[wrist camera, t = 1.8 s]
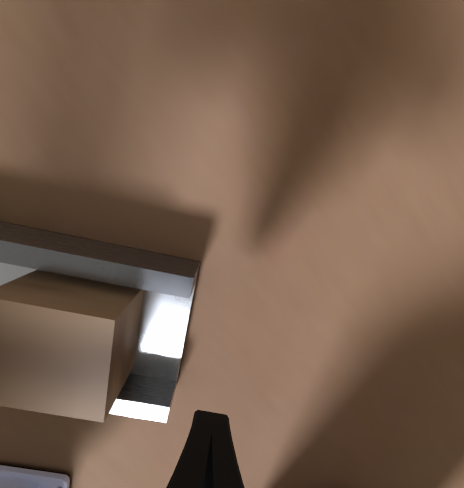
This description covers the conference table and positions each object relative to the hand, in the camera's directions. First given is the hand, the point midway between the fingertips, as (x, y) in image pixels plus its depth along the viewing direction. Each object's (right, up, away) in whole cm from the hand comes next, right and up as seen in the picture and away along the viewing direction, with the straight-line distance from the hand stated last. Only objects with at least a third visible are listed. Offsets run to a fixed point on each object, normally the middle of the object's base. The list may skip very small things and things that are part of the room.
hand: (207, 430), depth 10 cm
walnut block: (-8, +3, +5) cm, 10 cm away
